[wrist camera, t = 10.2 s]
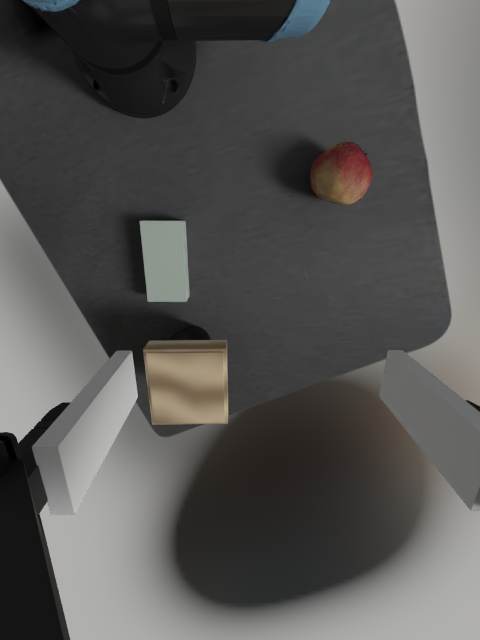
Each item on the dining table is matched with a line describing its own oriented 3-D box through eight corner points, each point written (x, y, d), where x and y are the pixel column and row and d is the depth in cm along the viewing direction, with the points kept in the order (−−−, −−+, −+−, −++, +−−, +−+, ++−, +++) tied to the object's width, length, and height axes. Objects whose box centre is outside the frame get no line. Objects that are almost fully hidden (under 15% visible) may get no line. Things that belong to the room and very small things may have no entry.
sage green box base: (146, 220, 45) (139, 220, 42) (185, 220, 46) (181, 221, 42) (153, 296, 49) (147, 301, 46) (189, 296, 50) (186, 301, 46)
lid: (149, 340, 42) (142, 350, 39) (226, 339, 42) (226, 349, 39) (157, 411, 46) (151, 425, 43) (228, 410, 46) (227, 424, 43)
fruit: (294, 178, 44) (307, 170, 36) (335, 137, 42) (357, 119, 35) (327, 217, 46) (345, 218, 38) (367, 179, 44) (395, 172, 36)
